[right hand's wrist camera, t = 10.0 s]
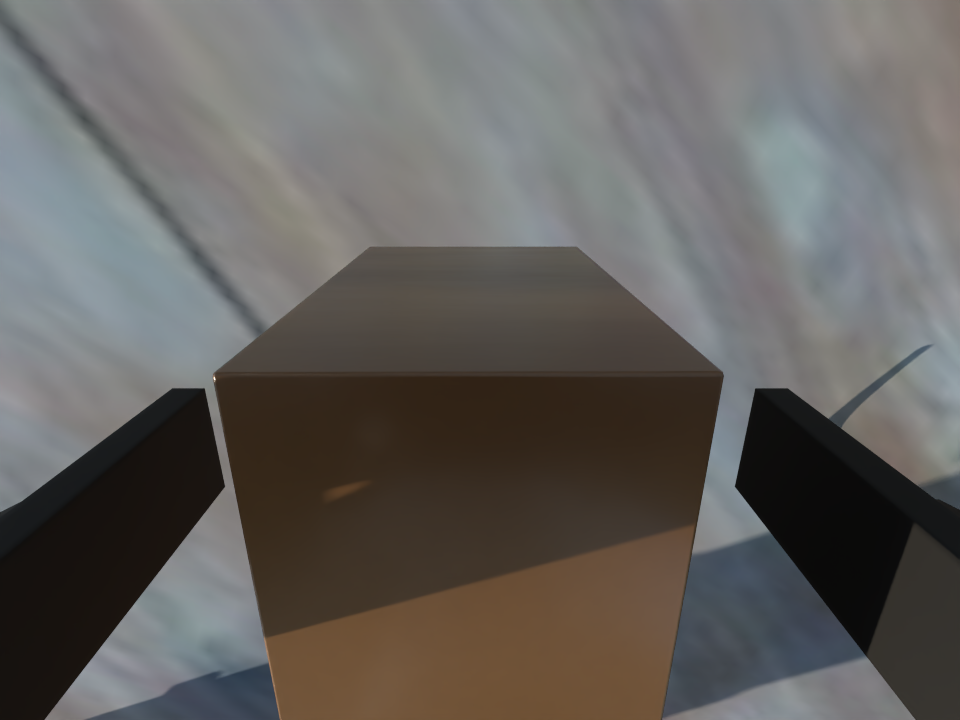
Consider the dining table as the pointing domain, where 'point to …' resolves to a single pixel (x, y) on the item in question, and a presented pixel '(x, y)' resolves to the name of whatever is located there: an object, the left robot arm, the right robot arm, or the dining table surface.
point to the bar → (469, 488)
